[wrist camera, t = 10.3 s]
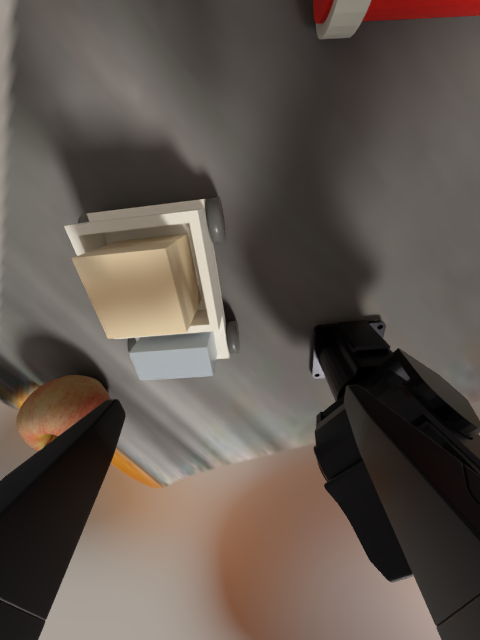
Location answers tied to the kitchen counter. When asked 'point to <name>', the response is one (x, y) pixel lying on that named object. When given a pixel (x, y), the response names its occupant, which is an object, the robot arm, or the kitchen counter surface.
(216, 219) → the toy truck
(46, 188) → the kitchen counter surface
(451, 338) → the kitchen counter surface
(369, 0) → the toy hammer
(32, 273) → the kitchen counter surface
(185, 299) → the cream wooden cube
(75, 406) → the apple
